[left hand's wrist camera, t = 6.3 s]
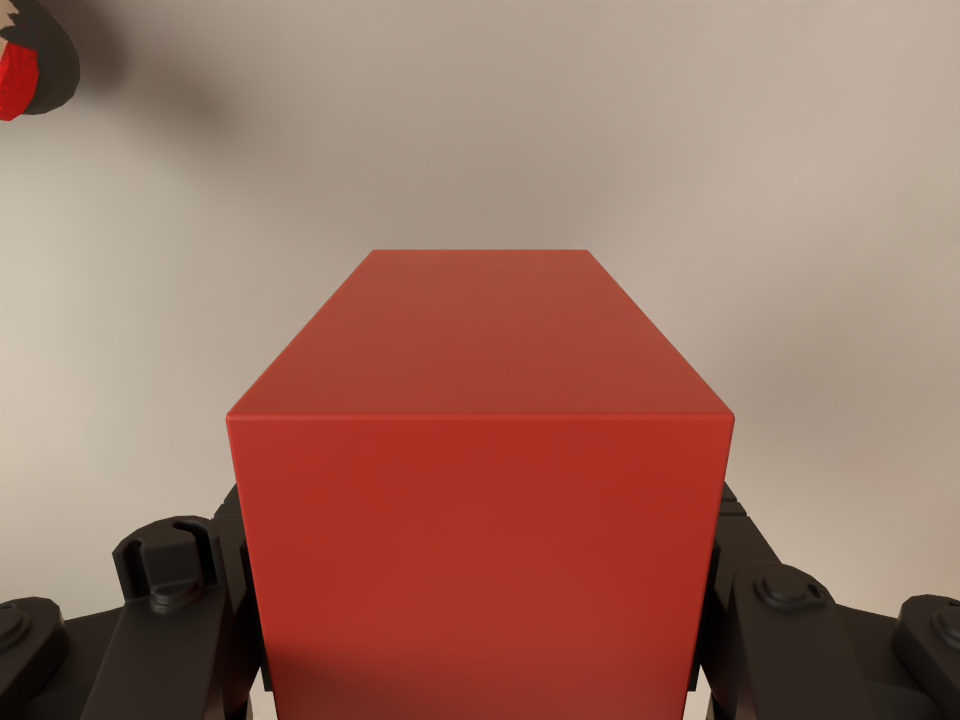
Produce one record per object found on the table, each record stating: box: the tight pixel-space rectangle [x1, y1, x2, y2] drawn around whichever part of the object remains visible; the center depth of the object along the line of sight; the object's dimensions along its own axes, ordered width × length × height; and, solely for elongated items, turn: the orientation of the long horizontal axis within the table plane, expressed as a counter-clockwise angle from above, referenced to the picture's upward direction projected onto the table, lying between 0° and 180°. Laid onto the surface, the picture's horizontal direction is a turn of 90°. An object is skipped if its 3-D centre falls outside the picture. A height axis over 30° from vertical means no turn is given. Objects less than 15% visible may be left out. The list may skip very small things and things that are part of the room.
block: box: [226, 250, 735, 720], centre depth 11 cm, size 5×8×9 cm, turn 0°
